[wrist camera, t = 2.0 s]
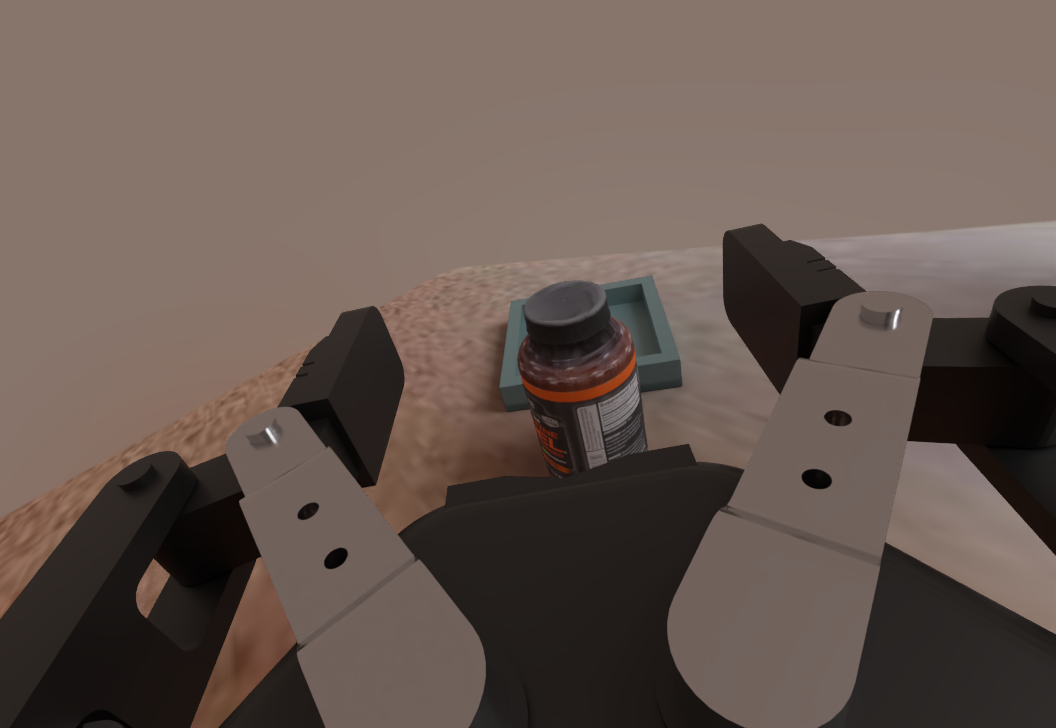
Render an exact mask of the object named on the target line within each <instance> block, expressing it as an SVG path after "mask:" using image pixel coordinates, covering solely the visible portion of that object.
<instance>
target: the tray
mask: <svg viewBox="0 0 1056 728" xmlns="http://www.w3.org/2000/svg"><path fill="white" fill-rule="evenodd" d="M599 286H600V287H602V288H603V289H604V291H605V293H606V296H607V303H608V307H609V310H610V313H611V315H610V316H612V317H614V318H616V319H617V320H619V321H620V322H622V323H623V324H624V325H625V326H626V327H627V329H628V330H629V332H630V334H631V336H632V339H633V343H634V347H635V355H636V362H637V369H638V376H639V384H640V392H645V391H652V390H658V389H665V388H672V387H679V386H682V377H681V363H680V357H679V354H678V351H677V348H676V345H675V342H674V339H673V336H672V333H671V331H670V328H669V325H668V322H667V319H666V316H665V313H664V310H663V307H662V304H661V301H660V298H659V295H658V292H657V289H656V286H655V283H654V280H653V277H652V276H646V277H641V278H635V279H630V280H625V281H619V282H614V283H608V284H603V285H599ZM528 299H529V298H526V299H521V300H515V301H511V305H510V312H509V320H508V327H507V335H506V342H505V349H504V357H503V364H502V372H501V379H500V386H499V388H500V391H501V394H502V397H503V400H504V403H505V406H506V410H507V412H510V411H517V410H524V409H530V407H529V404H528V400H527V397H526V393H525V390H524V387H523V383H522V379H521V376H520V372H519V368H518V362H517V356H518V351H519V347H520V346H521V343H522V341H523V340H524V338H525V337H526V335H527V334H528V333H527V330H526V322H525V317H524V305H525V303H526V301H527V300H528Z"/></svg>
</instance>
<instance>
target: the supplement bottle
mask: <svg viewBox="0 0 1056 728" xmlns="http://www.w3.org/2000/svg"><path fill="white" fill-rule="evenodd" d="M610 315H611V313H610V310H609V307H608V303H607V296H606V293H605V291H604V289H603V288H602V287H600V286H599V285H598V284H594V283H592V282H588V281H565V282H560V283H556V284H553V285H550V286H548V287H546V288H543V289H541V290H539V291H538V292H536V293H535V294H533V295H532V296H531V297H530V298H529V299H528V300H527V301H526V303H525V305H524V317H525V322H526V330H527V333H528V334H527V335H526V337H525V338H524V340H523V341H522V343H521V346H520V347H519V351H518V356H517V362H518V368H519V372H520V376H521V379H522V383H523V387H524V390H525V393H526V397H527V400H528V404H529V407H530V410H531V414H532V417H533V421H534V424H535V428H536V430H537V434H538V438H539V442H540V445H541V448H542V452H543V455H544V458H545V461H546V465H547V468H548V470H549V472H550V475H551V477H552V478H565V477H570V476H573V475H576V474H579V473H581V472H584V471H586V470H589V469H592V468H594V467H597V466H599V465H602V464H605V463H607V462H610V461H612V460H615V459H618V458H620V457H623V456H625V455H629V454H634V453H640V452H646V451H648V450H647V439H646V431H645V423H644V415H643V408H642V399H641V392H640V384H639V376H638V369H637V362H636V355H635V347H634V343H633V339H632V336H631V334H630V332H629V330H628V329H627V327H626V326H625V325H624V324H623V323H622V322H620V321H619V320H617V319H616V318H614V317H612V316H610Z"/></svg>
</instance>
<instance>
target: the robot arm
mask: <svg viewBox="0 0 1056 728" xmlns="http://www.w3.org/2000/svg"><path fill="white" fill-rule="evenodd" d="M723 298H724V305H725V310H726V313H727V316H728V319H729V321H730V323H731V324H732V326H733V327H734V328H735V330H736V331H737V333H738V334H739V336H740V337H741V339H742V340H743V342H744V343H745V344H746V346H747V347H748V349H749V350H750V352H751V353H752V355H753V356H754V358H755V359H756V361H757V362H758V363H759V365H760V366H761V368H762V369H763V371H764V372H765V374H766V375H767V377H768V378H769V379H770V381H771V382H772V384H773V385H774V387H775V388H776V390H777V391H778V393H779V394H780V397H779V399H778V401H777V403H776V405H775V407H774V409H773V412H772V414H771V416H770V418H769V420H768V422H767V424H766V426H765V428H764V430H763V433H762V435H761V437H760V439H759V441H758V443H757V445H756V447H755V449H754V452H753V454H752V456H751V458H750V460H749V462H748V464H747V466H746V468H745V470H743V469H740V468H737V467H732V466H728V465H723V464H716V463H708V462H696V460H695V458H694V456H693V453H692V451H691V448H690V446H689V444H685V445H680V446H674V447H668V448H663V449H657V450H651V451H646V452H640V453H634V454H629V455H625V456H623V457H620V458H618V459H615V460H612V461H610V462H607V463H605V464H602V465H599V466H597V467H594V468H592V469H589V470H586V471H584V472H581V473H579V474H576V475H573V476H570V477H565V478H551V477H515V476H503V477H498V478H492V479H486V480H480V481H475V482H469V483H463V484H458V485H452V486H448V488H447V496H446V504H445V506H442V507H440V508H438V509H436V510H434V511H432V512H430V513H428V514H426V515H424V516H422V517H421V518H419V519H417V520H416V521H414V522H413V523H411V524H410V525H409V526H407V527H406V528H405V529H403V530H402V531H401V532H400V533H399V534H397V533H396V532H395V531H394V529H393V528H392V527H391V526H390V524H389V523H388V522H387V520H386V519H385V518H384V516H383V515H382V514H381V513H380V511H379V510H378V509H377V507H376V506H375V505H374V503H373V502H372V501H371V500H370V498H369V497H368V496H367V494H366V493H365V492H364V490H363V489H362V488H364V487H370V486H375V485H376V483H377V480H378V476H379V473H380V469H381V466H382V462H383V458H384V455H385V451H386V448H387V444H388V441H389V437H390V433H391V430H392V426H393V423H394V419H395V416H396V412H397V409H398V405H399V401H400V398H401V394H402V391H403V387H404V370H403V366H402V362H401V360H400V357H399V355H398V353H397V350H396V348H395V346H394V343H393V341H392V339H391V336H390V334H389V332H388V329H387V327H386V325H385V323H384V320H383V318H382V316H381V314H380V312H379V310H378V309H377V308H376V307H374V306H371V307H366V308H361V309H357V310H352V311H348V312H343V313H342V314H341V315H340V316H339V318H338V320H337V322H336V324H335V326H334V328H333V329H332V331H331V333H330V335H329V336H327V337H325V338H324V339H323V340H321V341H320V342H319V343H318V344H317V345H316V346H315V347H314V348H313V349H311V350H310V352H309V354H308V355H307V357H306V359H305V361H304V362H303V364H302V365H303V367H300V369H299V371H298V373H297V374H296V378H294V380H293V381H292V383H291V385H290V386H289V388H288V390H287V392H286V393H285V395H284V397H283V399H282V400H281V402H280V404H279V406H278V407H277V408H274V409H270V410H267V411H265V412H262V413H260V414H258V415H256V416H254V417H252V418H251V419H249V420H247V421H246V422H245V423H243V424H242V425H241V426H239V427H238V428H237V429H236V430H235V431H234V432H233V433H232V435H231V436H230V437H229V439H228V440H227V442H226V445H225V452H226V454H224V455H221V456H219V457H216V458H214V459H211V460H209V461H206V462H204V463H201V464H199V465H196V466H194V467H191V468H189V467H188V465H187V464H186V463H185V462H184V461H183V459H182V458H181V457H180V456H179V455H178V454H177V453H175V452H172V451H164V452H158V453H155V454H152V455H149V456H146V457H144V458H142V459H140V460H138V461H136V462H134V463H132V464H131V465H129V466H127V467H126V468H124V469H123V470H122V471H120V472H119V473H118V474H116V475H115V476H114V477H113V478H112V479H111V480H110V481H109V482H108V483H107V484H106V485H105V486H104V487H103V488H102V490H101V491H100V492H99V494H98V495H97V496H96V497H95V499H94V500H93V501H92V502H91V504H90V505H89V506H88V508H87V509H86V510H85V511H84V513H83V514H82V515H81V517H80V518H79V519H78V520H77V522H76V523H75V524H74V526H73V527H72V528H71V529H70V531H69V532H68V533H67V535H66V536H65V537H64V538H63V540H62V541H61V542H60V543H59V545H58V546H57V547H56V549H55V550H54V551H53V552H52V554H51V555H50V556H49V558H48V559H47V560H46V561H45V563H44V564H43V565H42V567H41V568H40V569H39V570H38V572H37V573H36V574H35V576H34V577H33V578H32V579H31V581H30V582H29V583H28V585H27V586H26V587H25V588H24V590H23V591H22V592H21V593H20V595H19V596H18V597H17V599H16V600H15V601H14V602H13V604H12V605H11V606H10V608H9V609H8V610H7V611H6V613H5V614H4V615H3V617H2V618H1V619H0V728H190V727H191V724H192V722H193V719H194V716H195V714H196V711H197V709H198V706H199V704H200V701H201V699H202V696H203V694H204V691H205V689H206V686H207V684H208V681H209V679H210V676H211V674H212V671H213V669H214V666H215V663H216V661H217V658H218V656H219V653H220V651H221V648H222V646H223V643H224V641H225V638H226V636H227V633H228V631H229V628H230V626H231V623H232V621H233V618H234V616H235V613H236V611H237V608H238V605H239V603H240V600H241V598H242V595H243V593H244V590H245V588H246V585H247V583H248V580H249V578H250V575H251V573H252V570H253V568H254V565H255V562H256V559H257V558H259V557H262V558H263V561H264V563H265V566H266V568H267V570H268V573H269V575H270V577H271V580H272V582H273V585H274V587H275V589H276V592H277V594H278V596H279V599H280V601H281V603H282V606H283V608H284V611H285V613H286V615H287V618H288V620H289V622H290V625H291V627H292V630H293V632H294V634H295V637H296V640H297V643H296V644H295V645H294V646H293V647H292V648H291V649H290V650H289V651H288V652H287V654H286V655H285V656H284V657H283V658H282V659H281V660H280V661H279V662H278V663H277V664H276V666H275V667H274V668H273V669H272V670H271V671H270V672H269V673H268V674H267V675H266V676H265V677H264V679H263V680H262V681H261V682H260V683H259V684H258V685H257V686H256V687H255V688H254V689H253V691H252V692H251V693H250V694H249V695H248V696H247V697H246V698H245V699H244V700H243V701H242V703H241V704H240V705H239V706H238V707H237V708H236V709H235V710H234V711H233V712H232V713H231V714H230V716H229V717H228V718H227V719H226V720H225V721H224V722H223V723H222V724H221V725H220V726H219V728H1056V634H1054V633H1052V632H1050V631H1048V630H1046V629H1045V628H1043V627H1041V626H1039V625H1037V624H1035V623H1033V622H1032V621H1030V620H1028V619H1026V618H1024V617H1022V616H1021V615H1019V614H1017V613H1015V612H1013V611H1011V610H1009V609H1008V608H1006V607H1004V606H1002V605H1000V604H998V603H997V602H995V601H993V600H991V599H989V598H987V597H985V596H984V595H982V594H980V593H978V592H976V591H974V590H973V589H971V588H969V587H967V586H965V585H963V584H962V583H960V582H958V581H956V580H954V579H952V578H950V577H949V576H947V575H945V574H943V573H941V572H939V571H938V570H936V569H934V568H932V567H930V566H928V565H926V564H925V563H923V562H921V561H919V560H917V559H915V558H914V557H912V556H910V555H908V554H906V553H904V552H903V551H901V550H899V549H897V548H895V547H893V546H891V545H890V544H888V543H886V542H885V539H886V535H887V530H888V526H889V521H890V516H891V512H892V507H893V503H894V498H895V493H896V489H897V484H898V480H899V475H900V470H901V466H902V461H903V457H904V452H905V448H906V443H907V441H917V442H934V443H952V444H956V445H957V446H958V447H959V449H960V450H961V451H962V452H963V453H964V454H965V455H966V456H967V457H968V459H969V460H970V461H971V462H972V463H973V464H974V465H975V466H976V467H977V469H978V470H979V471H980V472H981V473H982V474H983V475H984V476H985V477H986V479H987V480H988V481H989V482H990V483H991V484H992V485H993V486H994V487H995V489H996V490H997V491H998V492H999V493H1000V494H1001V495H1002V496H1003V498H1004V499H1005V500H1006V501H1007V502H1008V503H1009V504H1010V505H1011V506H1012V508H1013V509H1014V510H1015V511H1016V512H1017V513H1018V514H1019V515H1020V516H1021V518H1022V519H1023V520H1024V521H1025V522H1026V523H1027V524H1028V525H1029V526H1030V528H1031V529H1032V530H1033V531H1034V532H1035V533H1036V534H1037V535H1038V536H1039V538H1040V539H1041V540H1042V541H1043V542H1044V543H1045V544H1046V545H1047V546H1048V548H1049V549H1050V550H1051V551H1052V552H1053V553H1054V554H1055V555H1056V286H1027V287H1020V288H1015V289H1011V290H1008V291H1006V292H1004V293H1002V294H1000V295H999V296H998V297H997V298H996V299H995V301H994V305H993V308H992V311H991V314H990V317H989V318H933V313H932V311H931V309H930V308H929V307H928V306H927V305H926V304H925V303H923V302H922V301H920V300H918V299H916V298H913V297H911V296H907V295H904V294H899V293H893V292H883V291H870V292H867V291H865V290H864V289H863V288H862V287H860V286H859V285H858V284H857V283H855V282H854V281H853V280H852V279H851V278H849V277H848V276H847V275H846V274H844V273H843V272H842V271H841V270H839V269H836V266H835V265H833V264H832V263H831V262H830V261H828V260H825V257H823V256H822V255H821V254H820V253H818V252H817V251H816V250H815V249H814V248H812V247H810V246H807V245H804V244H801V243H798V242H795V241H792V240H788V241H782V240H781V239H780V238H778V237H777V236H776V235H775V234H774V233H773V232H772V231H770V230H769V229H768V228H767V227H766V226H765V225H763V224H757V225H752V226H748V227H743V228H739V229H734V230H729V231H726V232H725V234H724V237H723ZM153 558H154V559H155V560H156V561H157V562H158V563H159V564H160V565H161V566H162V567H163V568H164V569H165V570H166V571H167V572H168V573H169V574H170V577H169V578H168V580H167V582H166V584H165V586H164V588H163V590H162V591H161V593H160V595H159V597H158V599H157V601H156V603H155V604H154V606H153V608H152V610H151V612H150V614H149V616H148V617H147V619H146V618H145V617H144V616H143V615H142V614H141V613H140V611H139V610H138V607H137V603H136V591H137V587H138V584H139V582H140V580H141V578H142V577H143V575H144V573H145V571H146V570H147V568H148V566H149V565H150V563H151V561H152V559H153Z"/></svg>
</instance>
